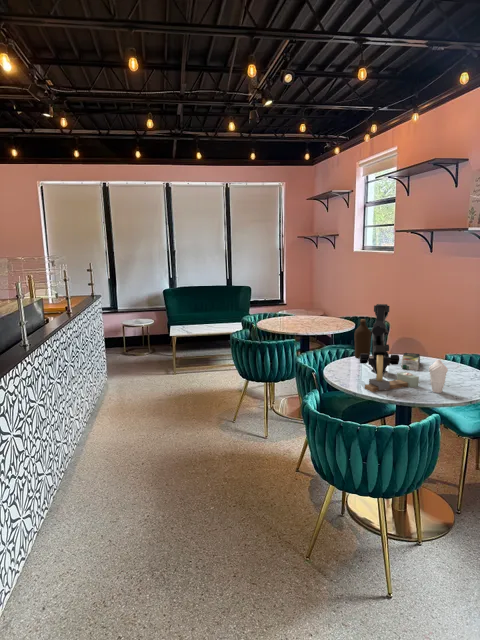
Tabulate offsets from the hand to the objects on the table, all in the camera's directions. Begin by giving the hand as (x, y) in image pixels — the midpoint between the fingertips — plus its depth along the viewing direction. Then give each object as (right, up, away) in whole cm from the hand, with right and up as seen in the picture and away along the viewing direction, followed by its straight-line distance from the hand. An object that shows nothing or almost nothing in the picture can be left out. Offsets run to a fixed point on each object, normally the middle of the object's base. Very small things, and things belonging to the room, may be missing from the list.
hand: (379, 373), depth 207 cm
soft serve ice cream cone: (+27, -8, -4) cm, 28 cm away
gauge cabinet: (+17, -6, +9) cm, 20 cm away
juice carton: (+33, -1, +44) cm, 55 cm away
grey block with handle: (+1, -8, +3) cm, 8 cm away
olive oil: (+11, +2, +67) cm, 68 cm away
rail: (+5, -7, +4) cm, 10 cm away
